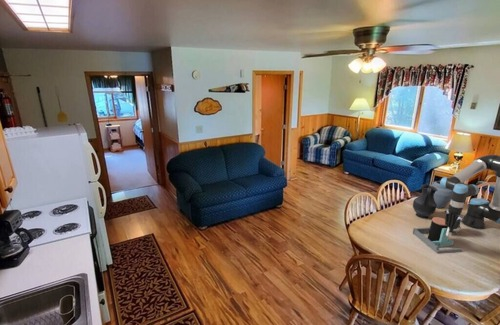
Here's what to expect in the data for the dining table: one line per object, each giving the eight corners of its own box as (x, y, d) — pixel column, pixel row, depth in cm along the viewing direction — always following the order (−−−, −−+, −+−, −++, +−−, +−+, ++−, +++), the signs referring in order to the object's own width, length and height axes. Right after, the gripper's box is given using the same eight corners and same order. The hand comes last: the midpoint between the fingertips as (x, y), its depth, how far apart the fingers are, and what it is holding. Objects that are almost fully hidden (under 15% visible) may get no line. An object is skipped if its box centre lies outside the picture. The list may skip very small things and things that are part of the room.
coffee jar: (446, 246, 199) (452, 225, 193) (430, 244, 200) (436, 223, 195) (439, 238, 208) (445, 217, 203) (424, 236, 210) (429, 216, 205)
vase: (430, 210, 251) (436, 186, 243) (421, 201, 269) (426, 178, 261) (453, 212, 248) (460, 187, 240) (443, 202, 266) (449, 179, 258)
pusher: (450, 244, 200) (455, 227, 195) (452, 246, 199) (457, 228, 194) (430, 246, 199) (435, 228, 194) (432, 247, 197) (437, 230, 192)
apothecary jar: (439, 232, 216) (444, 212, 210) (442, 226, 224) (447, 207, 218) (458, 238, 208) (463, 218, 202) (460, 232, 216) (465, 212, 211)
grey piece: (435, 231, 217) (436, 227, 215) (461, 251, 193) (463, 246, 192) (412, 233, 215) (413, 228, 213) (436, 253, 191) (438, 248, 190)
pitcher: (433, 214, 243) (440, 184, 234) (433, 225, 226) (441, 192, 217) (411, 209, 252) (417, 180, 242) (410, 219, 235) (416, 188, 226)
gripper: (443, 201, 191) (436, 230, 198) (459, 210, 179) (451, 241, 186) (453, 201, 192) (445, 230, 199) (469, 210, 179) (460, 240, 187)
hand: (448, 235), depth 193 cm, fingers closed
